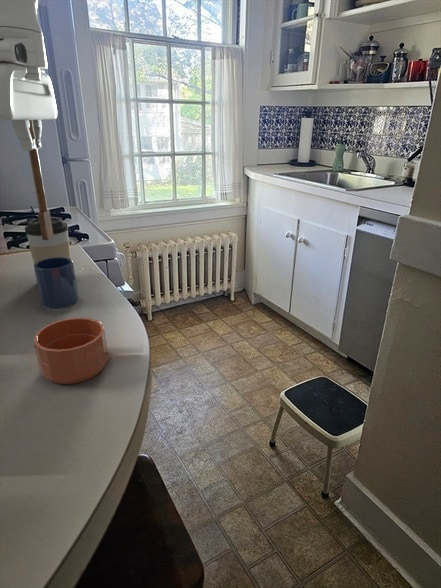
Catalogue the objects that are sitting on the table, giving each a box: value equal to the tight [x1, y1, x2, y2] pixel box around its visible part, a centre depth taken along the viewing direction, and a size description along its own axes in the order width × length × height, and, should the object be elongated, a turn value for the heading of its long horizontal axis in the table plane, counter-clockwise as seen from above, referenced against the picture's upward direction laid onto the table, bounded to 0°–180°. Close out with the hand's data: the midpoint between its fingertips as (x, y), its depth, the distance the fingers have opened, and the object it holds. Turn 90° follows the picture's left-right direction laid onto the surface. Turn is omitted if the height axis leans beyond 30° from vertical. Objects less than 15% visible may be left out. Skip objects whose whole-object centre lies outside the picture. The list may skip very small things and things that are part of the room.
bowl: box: [33, 317, 109, 385], centre depth 60 cm, size 10×10×6 cm
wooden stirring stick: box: [28, 120, 54, 240], centre depth 68 cm, size 1×3×21 cm, turn 1°
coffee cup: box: [24, 217, 72, 265], centre depth 90 cm, size 9×9×15 cm
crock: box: [33, 257, 79, 310], centre depth 80 cm, size 7×7×9 cm
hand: (32, 149), depth 66 cm, fingers closed on wooden stirring stick, 1 cm apart
